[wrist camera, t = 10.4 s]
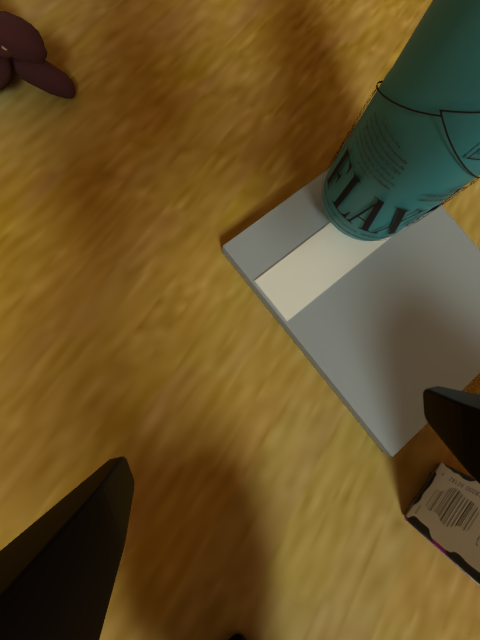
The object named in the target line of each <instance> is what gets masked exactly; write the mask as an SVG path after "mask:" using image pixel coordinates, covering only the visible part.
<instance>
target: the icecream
mask: <svg viewBox="0 0 480 640" xmlns="http://www.w3.org/2000/svg"><path fill="white" fill-rule="evenodd" d="M46 57H47V51H46V49H45V46H44V42H43V40H42V38H41V36H40V34H39V32H38V31H37V30H36V29H35V28H34V27H33V26H32V25H31V24H30V23H28V22H27V21H25V20H24V19H22V18H20V17H18V16H16V15H13V14H11V13H8V12H6V11H0V89H3V88H4V87H5V86H7V85H8V83H9V81H10V80H11V79H12V78H13V76H14V74H15V75H17V76H19V77H20V78H22V79H23V80H25V81H27V82H28V83H30V84H32V85H34V86H36V87H38V88H40V89H42V90H44V91H46V92H48V93H50V94H53V95H56V96H60V97H63V98H73V97H74V95H75V86H74V83H73V81H72V80H71V79H70V78H69V76H68V75H66V74H65V73H64V72H62V71H61V70H59V69H58V68H57V67H55V66H54V65H52V64H51V63H49V62H48V61H46V60H45V59H46Z"/></svg>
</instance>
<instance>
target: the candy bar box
mask: <svg viewBox="0 0 480 640" xmlns="http://www.w3.org/2000/svg"><path fill="white" fill-rule="evenodd" d="M405 519H406V521H408V522H409V523H410V524H411V525H412V526H413V527H414V528H416V529H417V530H418V531H419V532H420V533H421V534H422V535H423V536H424V537H425V538H426V539H428V540H429V541H430V542H431V543H432V544H433V545H434V546H435V547H436V548H437V549H438V550H440V551H441V552H442V553H443V554H444V555H445V556H446V557H447V558H449V559H450V560H451V561H452V562H453V563H454V564H455V565H456V566H457V567H459V568H460V569H461V570H462V571H463V572H464V573H465V574H466V575H468V576H469V577H470V578H471V579H472V580H473V581H474V582H475V583H476V584H478V585H479V586H480V484H479V483H478V482H477V481H476V480H475V479H473V478H471V477H469V476H467V475H465V474H463V473H461V472H459V471H457V470H455V469H453V468H451V467H449V466H447V465H445V464H444V463H442V462H441V463H439V464H438V466H437V467H436V469H435V470H434V472H433V473H432V475H431V476H430V478H429V480H428V481H427V483H426V484H425V486H424V487H423V489H422V490H421V491H420V492H419V494H418V496H417V497H416V499H415V500H414V501H413V503H412V504H411V506H410V508H409V509H408V511H407V513H406V515H405Z"/></svg>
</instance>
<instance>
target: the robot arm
mask: <svg viewBox="0 0 480 640" xmlns="http://www.w3.org/2000/svg"><path fill="white" fill-rule="evenodd" d="M423 406H424V415H425V418H426V420H427V422H428V423H429V424H430V426H431V427H432V428H433V429H434V431H435V432H436V433H437V435H438V436H439V437H440V438H441V440H442V441H443V442H444V443H445V445H446V446H447V447H448V448H449V450H450V451H451V452H452V453H453V455H454V456H455V457H456V458H457V460H458V461H459V462H460V463H461V464H462V465H463V467H464V468H465V469H466V470H467V471H468V472H469V473H470V474H471V475H472V476H473V478H474V479H475V480H476V481H477V482H478V483H479V484H480V395H478V394H473V393H469V392H464V391H460V390H455V389H450V388H446V387H441V386H435V387H431V388H426V389H425V390H424V391H423ZM133 492H134V479H133V476H132V473H131V470H130V467H129V465H128V462H127V459H126V458H125V457H118V458H113V459H110V460H109V461H107V462H106V463H105V464H104V465H103V466H101V467H100V468H99V469H98V470H97V471H95V472H94V473H93V474H92V475H91V476H89V477H88V478H87V479H86V480H85V481H83V482H82V483H81V484H80V485H79V486H77V487H76V488H75V489H74V490H73V491H71V492H70V493H69V494H68V495H67V496H65V497H64V498H63V499H62V500H61V501H59V502H58V503H57V504H56V505H55V506H54V507H52V508H51V509H50V510H49V511H48V512H46V513H45V514H44V515H43V516H42V517H40V518H39V519H38V520H37V521H36V522H34V523H33V524H32V525H31V526H30V527H28V528H27V529H26V530H25V531H24V532H22V533H21V534H20V535H19V536H18V537H16V538H15V539H14V540H13V541H12V542H10V543H9V544H8V545H7V546H6V547H4V548H3V549H2V550H1V551H0V640H99V638H100V634H101V631H102V627H103V623H104V620H105V616H106V612H107V608H108V605H109V601H110V597H111V594H112V590H113V586H114V582H115V579H116V575H117V571H118V567H119V564H120V560H121V556H122V552H123V548H124V544H125V539H126V534H127V528H128V522H129V516H130V510H131V504H132V498H133ZM229 640H246V639H245V638H244V637H243V636H242V635H241V634H235V635H234V636H232V637H231V638H230V639H229Z"/></svg>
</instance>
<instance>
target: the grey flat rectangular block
mask: <svg viewBox="0 0 480 640" xmlns="http://www.w3.org/2000/svg"><path fill="white" fill-rule="evenodd" d="M329 169H330V168H329ZM329 169H327V170H328V171H329ZM327 170H326V171H324V172H323V173H322V174H320V175H319V176H318V177H316V178H315V179H313V180H312V181H311V182H309V183H308V184H307V185H305V186H304V187H303V188H301V189H300V190H298V191H297V192H296V193H294V194H293V195H292V196H290V197H289V198H288V199H286V200H285V201H283V202H282V203H281V204H279V205H278V206H277V207H275V208H274V209H273V210H271V211H270V212H268V213H267V214H266V215H264V216H263V217H262V218H260V219H259V220H258V221H256V222H255V223H253V224H252V225H251V226H249V227H248V228H247V229H245V230H244V231H243V232H241V233H240V234H238V235H237V236H236V237H234V238H233V239H232V240H230V241H229V242H227V243H226V244H225V245H223V247H222V253H223V254H224V255H225V256H226V258H227V259H228V260H229V261H230V263H231V264H232V265H233V266H234V268H235V269H236V270H237V271H238V273H239V274H240V275H241V276H242V278H243V279H244V280H245V281H246V283H247V284H248V285H249V286H250V287H251V289H252V290H253V291H254V292H255V294H256V295H257V296H258V297H259V299H260V300H261V301H262V302H263V304H264V305H265V306H266V307H267V309H268V310H269V311H270V312H271V314H272V315H273V316H274V317H275V319H276V320H277V321H278V322H279V324H280V325H281V326H282V327H283V329H284V330H285V331H286V332H287V334H288V335H289V336H290V337H291V339H292V340H293V341H294V342H295V343H296V345H297V346H298V347H299V348H300V350H301V351H302V352H303V353H304V355H305V356H306V357H307V358H308V360H309V361H310V362H311V363H312V365H313V366H314V367H315V368H316V370H317V371H318V372H319V373H320V375H321V376H322V377H323V378H324V380H325V381H326V382H327V383H328V385H329V386H330V387H331V388H332V390H333V391H334V392H335V393H336V395H337V396H338V397H339V398H340V399H341V401H342V402H343V403H344V404H345V406H346V407H347V408H348V409H349V411H350V412H351V413H352V414H353V416H354V417H355V418H356V419H357V421H358V422H359V423H360V424H361V426H362V427H363V428H364V429H365V431H366V432H367V433H368V434H369V436H370V437H371V438H372V439H373V441H374V442H375V443H376V444H377V446H378V447H379V448H380V449H381V451H382V452H384V453H386V454H388V455H390V456H391V457H393V456H394V455H395V454H396V453H397V452H398V451H399V450H400V449H401V448H402V447H403V446H404V445H405V444H407V443H408V442H409V441H410V440H411V439H412V438H413V437H414V436H415V435H416V434H417V433H418V432H419V431H420V430H421V429H422V428H423V427H424V426H425V425H426V424H427V423H428V422H427V420H426V418H425V415H424V406H423V391H424V390H425V389H426V388H431V387H435V386H441V387H446V388H450V389H455V390H460V391H462V390H463V389H464V388H465V387H466V386H467V385H468V384H469V383H470V382H471V381H472V380H473V379H474V378H475V377H476V376H477V375H478V374H479V373H480V250H479V249H478V247H477V246H476V245H475V244H474V243H473V242H472V240H471V239H470V238H469V237H468V236H467V235H466V233H465V232H464V231H463V230H462V229H461V228H460V226H459V225H458V224H457V223H456V222H455V221H454V219H453V218H452V217H451V216H450V215H449V214H448V212H447V211H446V210H445V209H444V208H443V207H442V205H440V207H439V208H438V207H437V209H436V210H434V211H433V212H432V211H431V213H430V212H429V213H430V214H429V213H427V214H426V215H427V216H425V214H424V215H423V216H425V217H424V218H423V219H422V217H423V216H422V217H420V218H419V219H421V220H420V221H419V219H418V220H416V221H415V223H414V224H413V222H412V224H411V225H412V226H411V225H410V224H409V225H410V226H409V225H408V226H407V227H405V228H403V229H402V230H401V231H399V232H398V233H396V234H395V236H394V235H393V236H392V237H393V238H392V237H388V238H385V239H386V240H385V239H381V240H379V241H361V240H357V239H353V238H351V237H349V236H347V235H345V234H343V233H342V232H341V231H339V230H338V229H337V228H336V227H335V226H334V225H333V224H332V223H331V222H330V220H329V219H328V217H327V215H326V213H325V210H324V207H323V202H322V190H323V185H324V180H325V177H326V175H327V173H328V171H327ZM326 172H327V173H326ZM324 174H325V176H324ZM323 177H324V178H323ZM322 182H323V183H322ZM439 204H440V203H439ZM439 204H438V205H439ZM436 206H437V205H436ZM417 221H418V222H417ZM416 222H417V223H416ZM401 232H402V233H401ZM399 233H400V234H399ZM389 238H390V239H389Z"/></svg>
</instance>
